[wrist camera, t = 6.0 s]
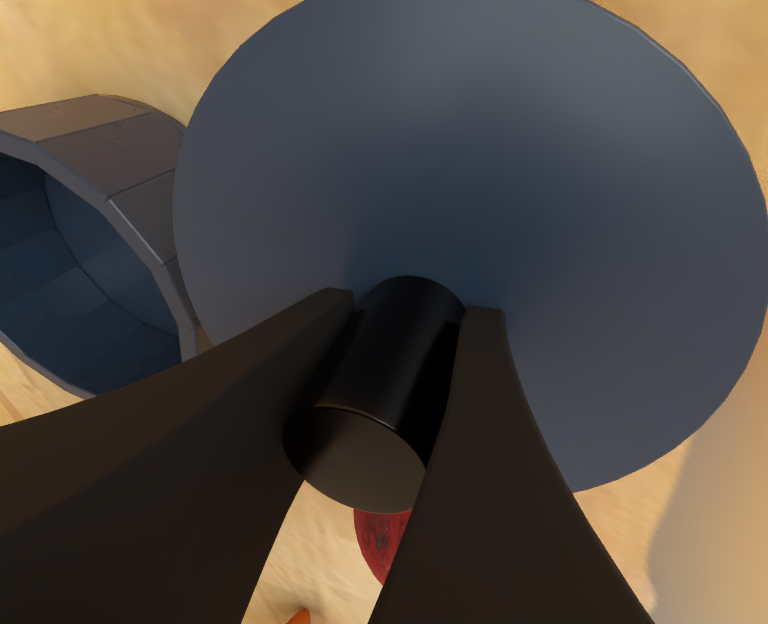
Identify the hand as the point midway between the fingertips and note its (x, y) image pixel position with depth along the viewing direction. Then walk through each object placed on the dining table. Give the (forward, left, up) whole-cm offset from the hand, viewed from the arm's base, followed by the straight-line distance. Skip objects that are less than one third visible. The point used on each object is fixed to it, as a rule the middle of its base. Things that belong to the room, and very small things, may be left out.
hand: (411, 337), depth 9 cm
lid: (0, 0, -1) cm, 1 cm away
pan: (-13, +5, -7) cm, 15 cm away
